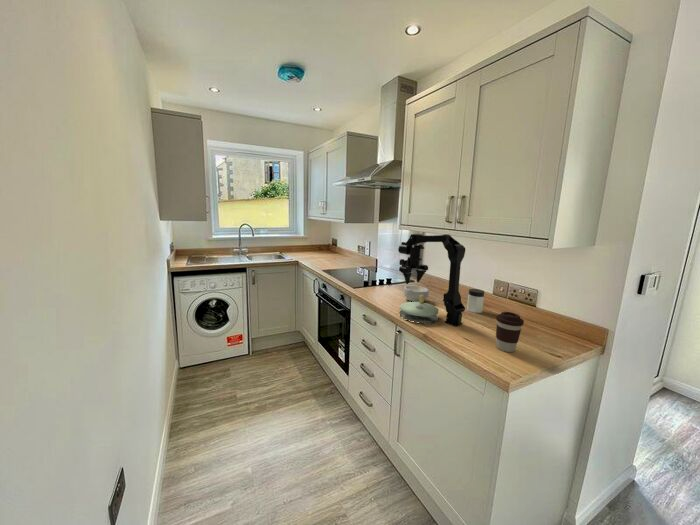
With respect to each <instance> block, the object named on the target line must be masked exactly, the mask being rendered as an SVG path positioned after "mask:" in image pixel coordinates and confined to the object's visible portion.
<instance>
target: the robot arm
mask: <svg viewBox="0 0 700 525" xmlns="http://www.w3.org/2000/svg"><path fill="white" fill-rule="evenodd" d="M400 243H401V244H400V245H399V246H398V252H399V254H402V255H409V256H408V257H407V259H405V258H404V259H403V258H402V259H399V268H398V271H399V272H400V273H401V274H402V275H403V277H404V280H405V285H409V283H410V279H411V277H412V271H416V283H420V282H421V279H422V278H423V276H424V275H425V273H427V271H429V265H427V264H422V263H420V262H421V261H422V258H421V251H422V250H424V249H425V247H424V246H423V244H425V243H442V245H443V247H444V249H445V250H446V251H447V258H448V260H449V262H450V264H449V265H450V266H449V277H448V289H447V292H445V293H443V300H442V302H443V305H444V306H445V311H446V319H445V321H444V323H445V324H448V325H451V326H454V327H459V326H462V325H463V324H464V323H463V322H462V320H463V313H464V312H465V310H466V307H465V305H464V304H463V303H462V297H461V293H460V290H459V287H460V278H461V264H462V262H463V260H464V258H465V254H466V247H465V246H464V245H463V244H461V243H460V242H459V241H457V239H455V238H454V237H453V236H452V235H451V234H447V233H446V234H445V233H444V234H436V235H435V234H431V235H430V234H429V235H427V234H424V233H411V234H410V235H409V238H408V239H407V241H405V242H404V241H401V242H400Z"/></svg>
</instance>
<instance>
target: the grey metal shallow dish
mask: <svg viewBox="0 0 700 525" xmlns="http://www.w3.org/2000/svg"><path fill="white" fill-rule="evenodd" d="M399 314H400V316H401V317H403V318H404V319H407V320H410V321H414V322H419V323H431V324H434V323H437V322H438V321H439V317H438V314H437V315H435V316H429V317H423V316H415V315H411V314H408V313H405V312H403V311H402V310H401V309H400V311H399ZM399 314H398V315H399ZM400 316H399V317H400ZM401 317H400V318H401ZM404 319H403V320H404Z"/></svg>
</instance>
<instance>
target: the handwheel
mask: <svg viewBox="0 0 700 525" xmlns="http://www.w3.org/2000/svg"><path fill="white" fill-rule="evenodd" d="M399 307H400V308H399V309H400V311H401V310H402V311H403V312H405V313H408V314H411V315H415V316H423V317H429V316H435V315H437V316H438V314H439V308H438V307H436V306H435V305H432V304H430V303H425V299H424V295H420V300H419V302H411V301H405V302H402V303H401V304H399Z"/></svg>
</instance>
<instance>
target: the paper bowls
mask: <svg viewBox="0 0 700 525" xmlns="http://www.w3.org/2000/svg"><path fill="white" fill-rule="evenodd" d="M429 291H430V289H429V288H428V287H427V288H426V287H424V286H420V285H413V284H412V285H411V284H407V285H405V286H404V287H403V296H405V297H406V300H407V301H408V302H411V301H412V302H419V300H420V295H424V300H427V299H428V297H429Z"/></svg>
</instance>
